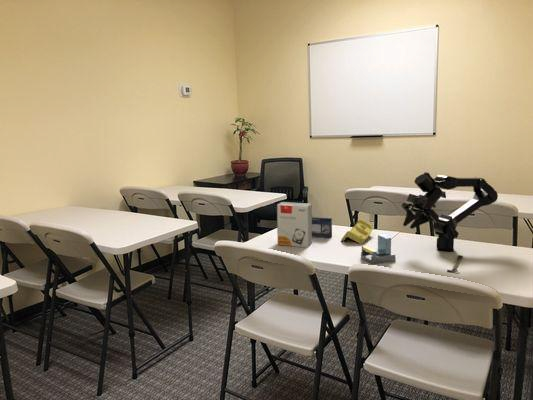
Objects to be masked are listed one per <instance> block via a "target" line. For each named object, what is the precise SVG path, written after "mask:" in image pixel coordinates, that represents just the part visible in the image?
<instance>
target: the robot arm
mask: <svg viewBox="0 0 533 400" xmlns="http://www.w3.org/2000/svg"><path fill="white" fill-rule="evenodd" d="M414 184H415V185H416V186H417V187H418V188H419V189H420V191H422V192H423V193H425V194H424V195H423V194H419V195H416V194H412V193H409V194H408V196H407V198H406V202H405V201H404V202H403V203H402V204H401V208H402V209H403V210H404V211H405V213H406V216H405V217H404V221H403V223H402V225H403V227H406V226H408V225H409V224H410V223H411V224H410V226H409V228H410V229H414V228H417V227H419V226H421V225H423V224H426V223H430V220H431V222H432V229H433V230H434V234H435V235H437V238H436V249H437V251H438V252H439V251H441V252H452V253H453V252H454V251H455V250H454V249H455V248H454V242H455V239H457V238H458V237H459V232H458V231H457V230H456V229H457V227H458V224H459V223H460V222H462V221H463V220H465V219H466V218H467V217H469V216H470V215H472V214H473V213H475V212H476V211H477V210H479V209H480V208H482V207H484V206H488V205H489V206H491V204H493V203H496V201H497V200H498V198H499V197H498V196H499V194H498V192H497V191H496V190H495V188H493V186H492V185H490V184H489V183H488V182H487V181H486V179H484V178H483V177H476V176H475V177H455V176H449V175H443V174H437V175H436V176H435V177H432V176H431V174H430V173H429V172H425V171H424V172H423V174H420V175H418V176H417V177H416V178H415V179H414ZM458 187H459V188H460V187H461V188H462V187H463V188H465V187H467V188H469V187H472V189H473V192H474V194H473V197H472V198H471V199H470V200H469V201H467V202H466V203H464V204H463V205H461V206H460V207H459V208H458V209H456V210H455V211H453V212H451V214H449V215H447V214H444V213H442V214H441V215H439V214H438V213H437V212H436V211H435V210H434V209H435V208H436V206H437V205H436V203H437V202H438V201H439V200H440V199H441V198H443V199H446V198H447V195H446V191H443V190H447V191H448V190H453V189H456V188H458ZM442 189H443V190H442ZM433 208H434V209H433ZM416 214H417V215H416Z"/></svg>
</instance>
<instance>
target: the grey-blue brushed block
mask: <svg viewBox="0 0 533 400" xmlns="http://www.w3.org/2000/svg"><path fill="white" fill-rule="evenodd" d="M374 250H375V251H377V256H384V255H391V254H392V237H390V236H388V235H386V234H383V233H382V234H378V235H377V249H374Z"/></svg>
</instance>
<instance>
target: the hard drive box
mask: <svg viewBox="0 0 533 400" xmlns="http://www.w3.org/2000/svg"><path fill="white" fill-rule="evenodd" d="M312 205H313V204H312V203H304V202H291V201H290V202H289V201H287V202H286V201H281V202H279V203H277V204H276V224H277V225H276V229H277V231H276V232H277V234H276V235H277V245H280V246H290V247H299V248H309V247H310V246H311V245H312V244H313V241H312V239H313V237H312V217H313V216H312V214H313V213H312V212H313V211H312V209H313V207H312Z"/></svg>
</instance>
